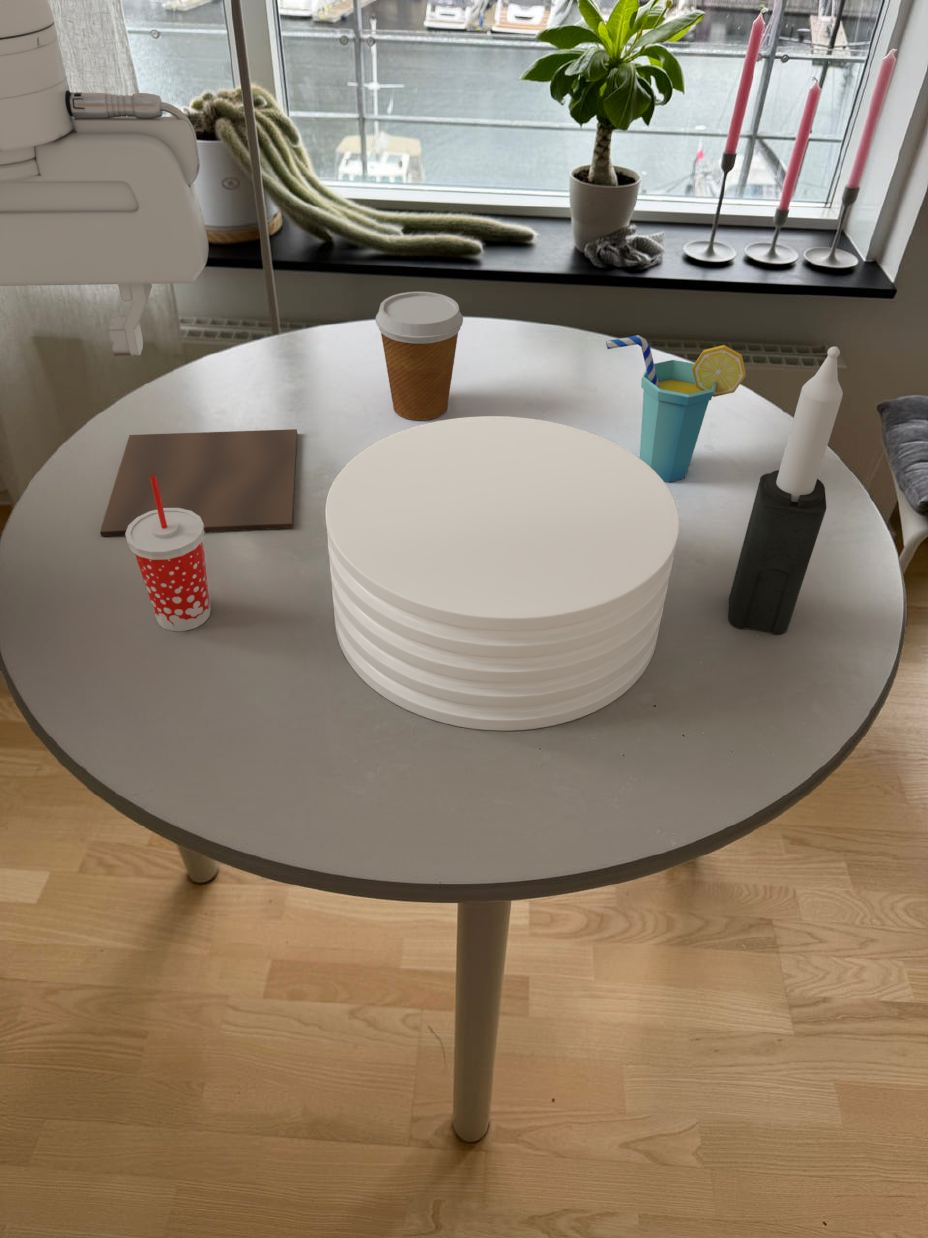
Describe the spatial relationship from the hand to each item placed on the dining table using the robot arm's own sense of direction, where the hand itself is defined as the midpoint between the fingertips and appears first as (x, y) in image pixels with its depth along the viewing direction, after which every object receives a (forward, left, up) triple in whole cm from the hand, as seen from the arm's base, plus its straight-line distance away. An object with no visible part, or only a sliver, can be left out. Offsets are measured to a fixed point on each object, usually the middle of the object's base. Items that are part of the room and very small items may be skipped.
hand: (47, 353), depth 57 cm
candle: (+52, +6, -29) cm, 60 cm away
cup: (+49, +30, -29) cm, 64 cm away
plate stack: (+29, +8, -29) cm, 42 cm away
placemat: (+2, +31, -29) cm, 42 cm away
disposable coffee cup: (+25, +45, -29) cm, 59 cm away
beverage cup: (+2, +10, -29) cm, 31 cm away
